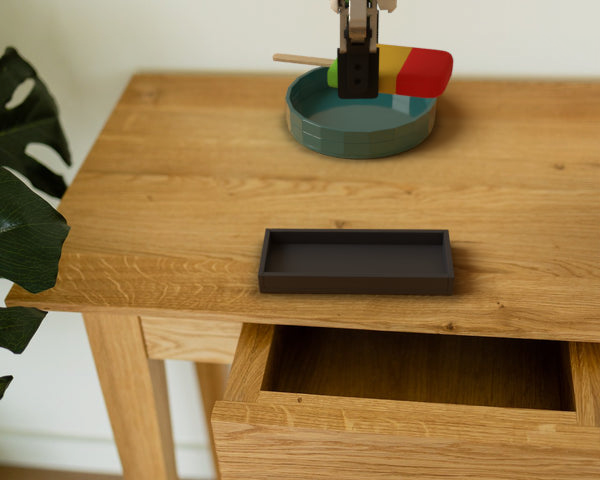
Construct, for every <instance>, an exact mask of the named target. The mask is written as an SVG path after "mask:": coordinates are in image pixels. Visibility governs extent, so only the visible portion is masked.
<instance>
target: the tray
mask: <svg viewBox="0 0 600 480" xmlns="http://www.w3.org/2000/svg"><path fill="white" fill-rule="evenodd" d="M451 245H452V244H451V239H450V230H449V229H448V228H447V229H437V228H436V229H435V228H434V229H433V228H431V229H430V228H427V229H426V228H425V229H424V228H422V229H421V228H287V227H285V228H276V227H275V228H274V227H272V228H270V227H268V228H266V227H265V230H264V237H263V242H262V248H261V254H260V258H259V259H260V260H259V266H258V271H257V282H258V291H259V293H260V294H261V293H262V294H263V293H264V294H332V295H333V294H336V295H337V294H339V295H346V294H347V295H413V296H416V295H417V296H421V295H422V296H453V294H454V293H453V292H454V285H455V271H454V262H453V255H452V247H451Z"/></svg>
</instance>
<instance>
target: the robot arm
mask: <svg viewBox="0 0 600 480" xmlns="http://www.w3.org/2000/svg"><path fill="white" fill-rule="evenodd" d="M329 3H330V10H332V11H333V12H334V13H336V14H337V15H339V47H337V48H336V58H337V80H338V97H339V98H340V99H375V98H377V97H378V94H379V52H380V48H379V47H376V44H379V31H380V29H379V28H380V25H379V24H380V11H387V13H388V14H392V13H393V12H394V11H395V10H396V9H397V8H398V0H329Z"/></svg>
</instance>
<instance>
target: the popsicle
mask: <svg viewBox="0 0 600 480" xmlns="http://www.w3.org/2000/svg"><path fill="white" fill-rule="evenodd" d="M376 47H379V48H380V52H379V93H386V94H394V95H403V96H411V97H419V98H436V99H437V98H439V97H441V96H442V95H443V94H444V93H445V91H446V89H447V86H448V85H449V83H450V80H451V78H452V76H453V70H454V56H453V55H452V53H450V52H449V51H446V50H442V49H435V48H425V47H415V46H405V45H394V44H386V43H385V44H384V43H378V44H376ZM272 61H273V62H280V63H287V64H288V63H290V64H298V65H307V66H316V67H321V66H324V67H330V68H329V70H328V74H327V76H328V85H329V86H330V87H336V88H338V80H337V57H336V58H335V59H334V58H326V57H315V56H308V55H307V56H305V55H298V54H289V53H279V52H278V53H274V54H273V55H272Z"/></svg>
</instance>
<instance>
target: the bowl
mask: <svg viewBox="0 0 600 480" xmlns="http://www.w3.org/2000/svg"><path fill="white" fill-rule="evenodd" d="M329 68H330V67H324V66H317V67H314V68H312V69H310V70H308V71H306V72H305V73H302V74H301V75H299V76H297V77H296V78H295V79H294V80H293V81H292V82H291V83H290V85H288V87H287V88H286V94H285V98H284V101H285V102H284V104H285V120H286V123H287V128H288V131H289V133H290V135H291V136H292V138H294V140H295V141H297V142H298V143H299V144H300V145H302V146H303V147H305V148H306V149H308V150H311V151H313V152H315V153H318V154H321V155H325V156H328V157H334V158H340V159H349V160H371V159H380V158H386V157H390V156H394V155H395V156H396V155H398V154H401V153H404V152H407V151H408V150H409V151H410V150H411V149H413V148H415V147H416V146H419V145H420V144H421V143H422V142H423V141H425V140H426V139H427V138H428V137H429V136H430V134H431V133H432V131H433V128H434V126H435V123H436V111H437V97H436V98H419V97H411V96H403V95H394V94H386V93H379V94H378V97H377V98H375V99H340V98H339V97H338V88H336V87H330V86H329V85H328V76H327V74H328V70H329Z"/></svg>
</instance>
